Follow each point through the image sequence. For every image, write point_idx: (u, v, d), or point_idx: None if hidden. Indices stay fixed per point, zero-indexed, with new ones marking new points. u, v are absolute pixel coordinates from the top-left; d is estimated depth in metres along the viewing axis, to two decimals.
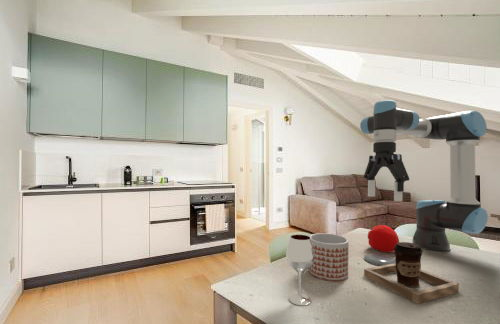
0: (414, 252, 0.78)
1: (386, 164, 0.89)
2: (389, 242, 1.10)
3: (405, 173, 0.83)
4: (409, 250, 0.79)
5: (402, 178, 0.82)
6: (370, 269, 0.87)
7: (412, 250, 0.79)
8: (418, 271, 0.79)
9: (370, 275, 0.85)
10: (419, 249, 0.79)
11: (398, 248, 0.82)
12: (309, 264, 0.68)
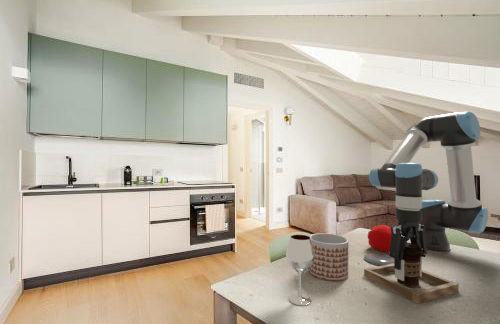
0: (414, 251, 0.78)
1: None
2: (389, 242, 1.10)
3: (394, 251, 0.79)
4: (409, 250, 0.79)
5: None
6: (370, 269, 0.87)
7: (412, 250, 0.79)
8: (418, 271, 0.79)
9: (370, 275, 0.85)
10: (419, 249, 0.79)
11: None
12: (309, 264, 0.68)
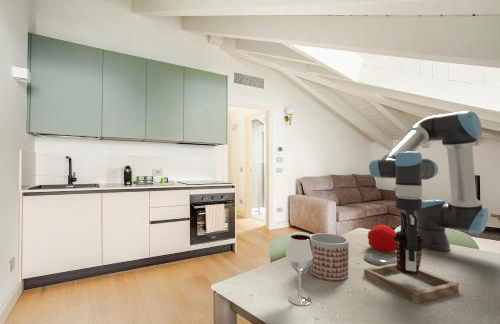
0: (421, 239, 0.79)
1: (403, 225, 0.81)
2: (389, 242, 1.10)
3: (414, 243, 0.76)
4: (418, 239, 0.79)
5: (408, 248, 0.76)
6: (370, 269, 0.87)
7: (420, 238, 0.79)
8: None
9: (370, 275, 0.85)
10: (420, 236, 0.81)
11: None
12: (309, 264, 0.68)
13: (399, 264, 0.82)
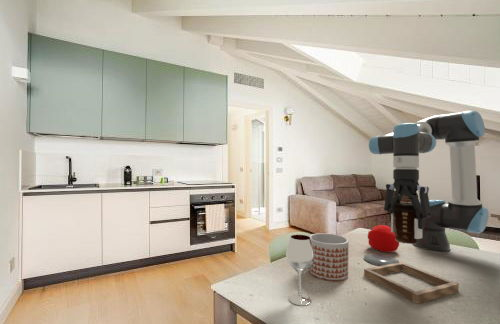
0: None
1: (409, 195, 0.82)
2: (389, 242, 1.10)
3: (429, 210, 0.78)
4: None
5: (425, 216, 0.77)
6: (370, 269, 0.87)
7: None
8: None
9: (370, 275, 0.85)
10: None
11: None
12: (309, 264, 0.68)
13: (405, 235, 0.81)
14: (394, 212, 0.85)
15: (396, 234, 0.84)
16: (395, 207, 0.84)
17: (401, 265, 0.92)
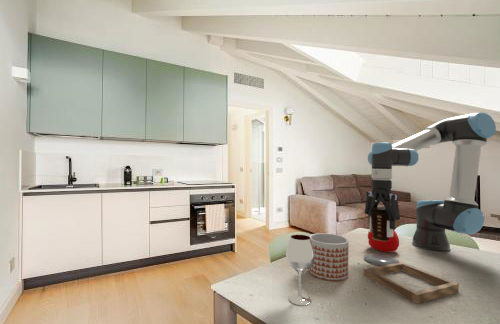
0: None
1: (383, 201, 1.00)
2: (389, 242, 1.10)
3: (398, 214, 0.96)
4: None
5: (395, 218, 0.95)
6: (370, 269, 0.87)
7: None
8: None
9: (370, 275, 0.85)
10: None
11: None
12: (309, 264, 0.68)
13: (379, 234, 1.00)
14: (371, 215, 1.03)
15: (373, 233, 1.02)
16: (372, 211, 1.02)
17: (401, 265, 0.92)
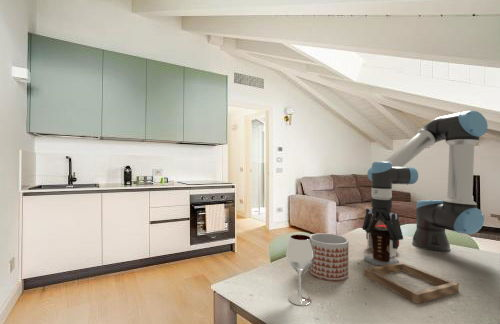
0: None
1: (384, 221, 0.99)
2: None
3: (400, 233, 0.95)
4: None
5: (398, 238, 0.94)
6: (370, 269, 0.87)
7: None
8: None
9: (370, 275, 0.85)
10: None
11: (388, 233, 0.99)
12: (309, 264, 0.68)
13: (380, 255, 0.99)
14: (371, 235, 1.03)
15: (373, 253, 1.02)
16: (372, 231, 1.02)
17: (401, 265, 0.92)
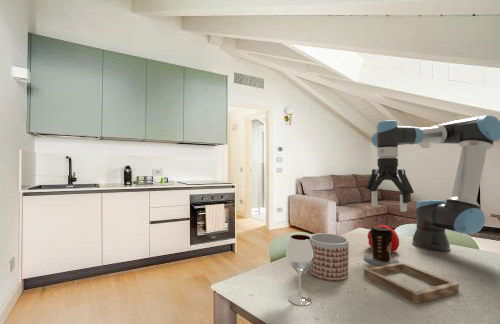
0: None
1: (391, 178, 0.99)
2: None
3: (410, 187, 0.94)
4: (391, 231, 1.01)
5: (408, 191, 0.93)
6: (370, 269, 0.87)
7: None
8: None
9: (370, 275, 0.85)
10: None
11: (388, 233, 0.99)
12: (309, 264, 0.68)
13: (380, 255, 0.99)
14: (371, 235, 1.03)
15: (373, 253, 1.02)
16: (372, 231, 1.02)
17: (401, 265, 0.92)
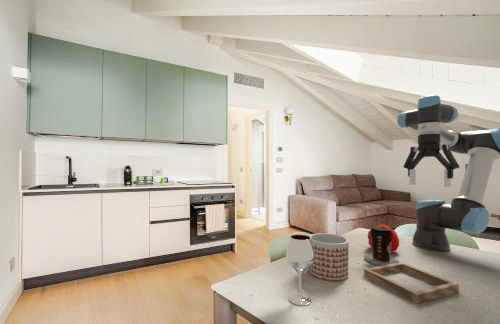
0: None
1: (434, 154, 0.97)
2: None
3: (455, 161, 0.92)
4: (391, 231, 1.01)
5: (454, 166, 0.91)
6: (370, 269, 0.87)
7: None
8: None
9: (370, 275, 0.85)
10: None
11: (388, 233, 0.99)
12: (309, 264, 0.68)
13: (380, 255, 0.99)
14: (371, 235, 1.03)
15: (373, 253, 1.02)
16: (372, 231, 1.02)
17: (401, 265, 0.92)
